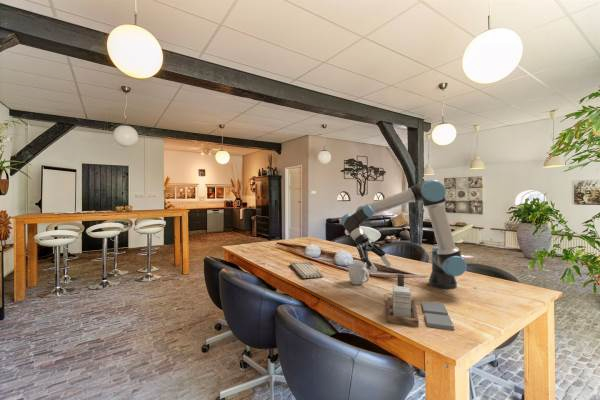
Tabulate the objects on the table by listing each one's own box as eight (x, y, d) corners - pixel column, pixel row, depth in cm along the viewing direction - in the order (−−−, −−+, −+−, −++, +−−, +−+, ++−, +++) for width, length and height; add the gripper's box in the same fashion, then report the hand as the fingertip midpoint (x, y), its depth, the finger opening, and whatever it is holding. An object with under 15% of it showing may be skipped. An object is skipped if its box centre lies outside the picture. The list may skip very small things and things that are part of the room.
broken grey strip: (443, 306, 134) (443, 303, 134) (453, 330, 112) (454, 326, 112) (421, 304, 138) (421, 301, 137) (427, 326, 115) (427, 322, 115)
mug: (374, 285, 165) (374, 264, 165) (362, 289, 159) (362, 267, 159) (357, 279, 177) (357, 259, 177) (344, 282, 171) (344, 261, 171)
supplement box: (392, 311, 129) (392, 285, 129) (409, 313, 127) (409, 286, 127) (393, 318, 122) (393, 290, 122) (411, 320, 120) (411, 292, 120)
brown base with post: (414, 303, 139) (414, 274, 138) (418, 326, 115) (418, 292, 114) (387, 300, 143) (387, 272, 142) (386, 322, 119) (386, 289, 118)
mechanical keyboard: (328, 278, 182) (328, 273, 182) (301, 281, 176) (301, 276, 176) (310, 264, 218) (310, 260, 218) (287, 266, 213) (287, 262, 212)
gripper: (368, 238, 166) (390, 268, 155) (341, 244, 150) (364, 277, 139) (376, 231, 162) (399, 260, 151) (349, 235, 146) (373, 269, 135)
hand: (382, 268), depth 145 cm, fingers open, 13 cm apart
